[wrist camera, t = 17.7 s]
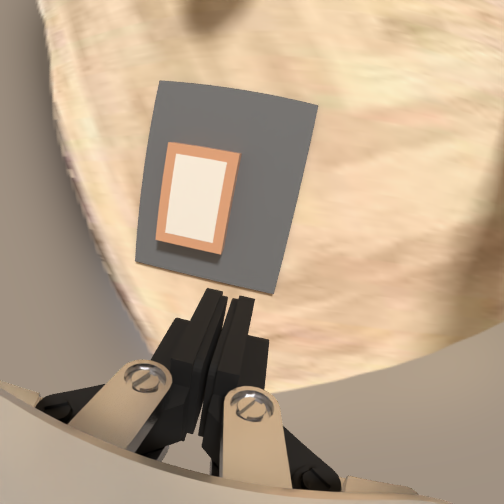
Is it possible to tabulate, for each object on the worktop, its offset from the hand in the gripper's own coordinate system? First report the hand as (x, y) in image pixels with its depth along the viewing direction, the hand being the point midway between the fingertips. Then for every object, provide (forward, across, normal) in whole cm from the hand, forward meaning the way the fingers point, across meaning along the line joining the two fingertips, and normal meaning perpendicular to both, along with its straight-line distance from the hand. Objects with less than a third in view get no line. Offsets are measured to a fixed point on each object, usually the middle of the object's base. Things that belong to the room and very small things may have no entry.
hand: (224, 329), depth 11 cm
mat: (+22, +5, -1) cm, 23 cm away
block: (+21, +3, 0) cm, 21 cm away
